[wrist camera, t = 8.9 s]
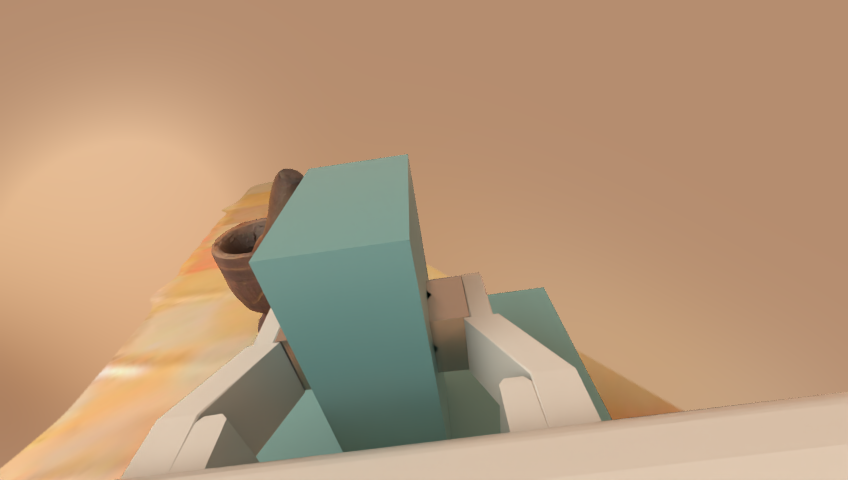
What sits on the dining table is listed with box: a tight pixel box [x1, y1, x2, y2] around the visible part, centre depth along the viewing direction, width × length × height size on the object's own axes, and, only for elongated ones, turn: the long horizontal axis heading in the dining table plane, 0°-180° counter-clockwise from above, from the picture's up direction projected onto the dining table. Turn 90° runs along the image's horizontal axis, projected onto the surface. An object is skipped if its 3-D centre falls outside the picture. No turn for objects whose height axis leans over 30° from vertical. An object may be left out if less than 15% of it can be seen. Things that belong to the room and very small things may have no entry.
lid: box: [249, 154, 612, 462], centre depth 10 cm, size 13×13×11 cm
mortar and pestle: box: [212, 169, 303, 332], centre depth 39 cm, size 12×9×20 cm
